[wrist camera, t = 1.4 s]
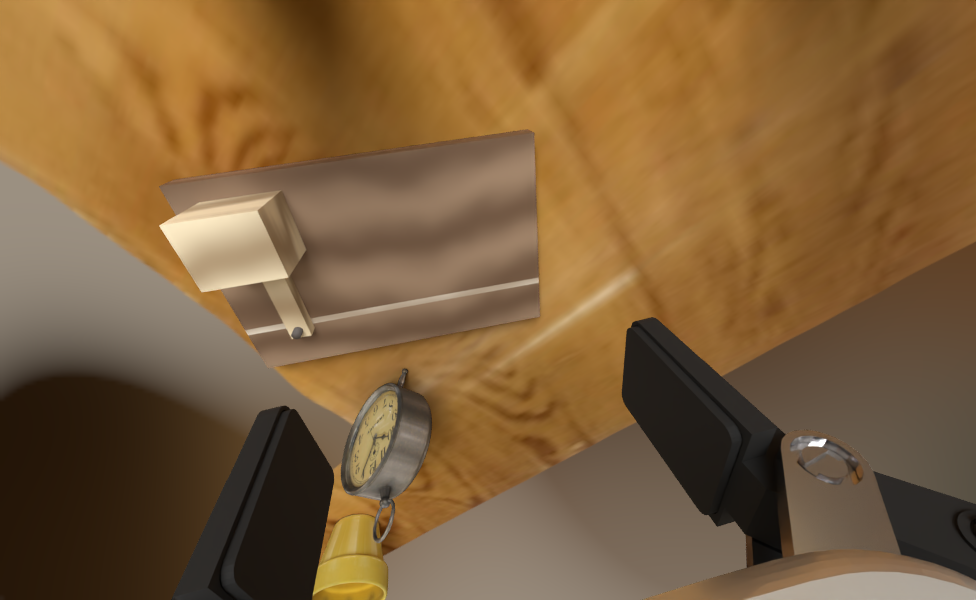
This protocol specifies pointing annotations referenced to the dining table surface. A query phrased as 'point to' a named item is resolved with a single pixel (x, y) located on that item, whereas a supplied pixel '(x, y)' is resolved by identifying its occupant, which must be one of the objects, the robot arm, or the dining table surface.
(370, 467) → the alarm clock
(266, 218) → the cream square mallet
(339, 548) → the plant pot
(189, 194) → the wooden cutting board
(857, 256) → the dining table surface
